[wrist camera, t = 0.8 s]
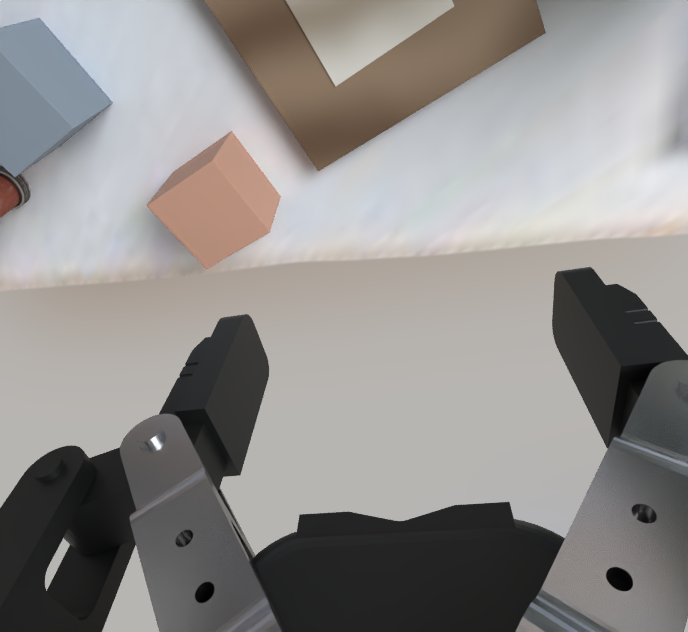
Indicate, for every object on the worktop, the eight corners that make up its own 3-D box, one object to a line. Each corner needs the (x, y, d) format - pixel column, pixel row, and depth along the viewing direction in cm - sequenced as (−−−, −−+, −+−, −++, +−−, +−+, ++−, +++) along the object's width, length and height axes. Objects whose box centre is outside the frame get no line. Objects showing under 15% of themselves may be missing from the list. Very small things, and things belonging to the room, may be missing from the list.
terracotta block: (173, 171, 30) (146, 205, 26) (232, 130, 28) (211, 160, 25) (224, 229, 33) (206, 269, 29) (280, 195, 31) (269, 232, 27)
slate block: (-14, 71, 27) (-77, 93, 23) (40, 17, 25) (-19, 32, 21) (60, 145, 29) (14, 177, 26) (113, 101, 28) (73, 128, 24)
